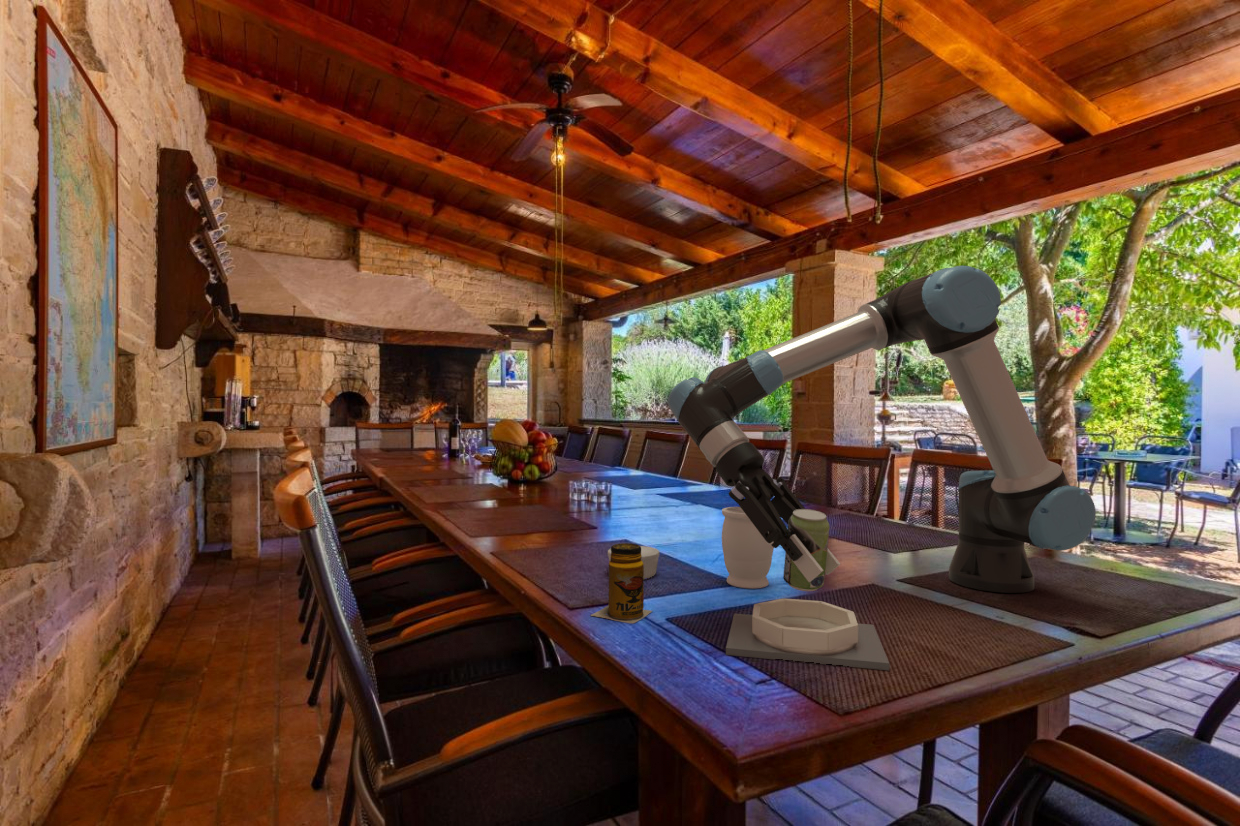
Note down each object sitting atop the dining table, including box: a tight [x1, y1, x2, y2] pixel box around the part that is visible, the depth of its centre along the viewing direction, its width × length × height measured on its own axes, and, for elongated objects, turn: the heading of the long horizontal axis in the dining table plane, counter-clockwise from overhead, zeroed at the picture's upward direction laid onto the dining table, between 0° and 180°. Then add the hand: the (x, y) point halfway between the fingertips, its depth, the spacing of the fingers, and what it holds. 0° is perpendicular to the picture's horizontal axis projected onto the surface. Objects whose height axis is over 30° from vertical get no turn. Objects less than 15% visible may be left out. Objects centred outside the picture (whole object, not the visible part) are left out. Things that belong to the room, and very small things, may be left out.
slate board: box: [725, 612, 890, 672], centre depth 98 cm, size 22×16×1 cm
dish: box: [751, 598, 859, 655], centre depth 98 cm, size 15×15×3 cm
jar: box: [721, 506, 775, 590], centre depth 130 cm, size 11×10×15 cm
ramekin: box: [607, 545, 660, 580], centre depth 137 cm, size 11×11×5 cm
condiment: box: [590, 542, 653, 624], centre depth 111 cm, size 7×8×12 cm
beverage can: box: [783, 508, 831, 592], centre depth 98 cm, size 6×7×12 cm
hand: (824, 572), depth 95 cm, fingers closed on beverage can, 5 cm apart
